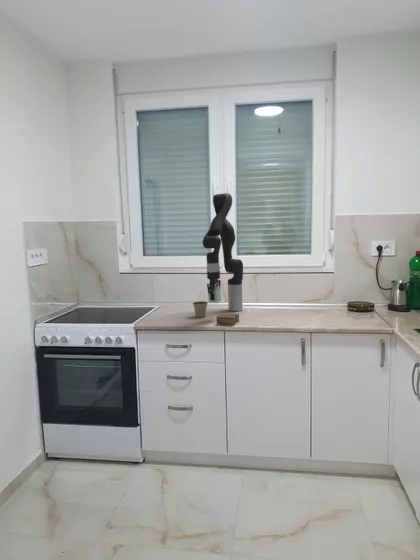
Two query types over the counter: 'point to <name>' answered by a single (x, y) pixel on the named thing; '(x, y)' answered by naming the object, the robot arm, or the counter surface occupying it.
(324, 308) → the counter surface
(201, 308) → the flower pot
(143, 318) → the counter surface
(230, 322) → the walnut box
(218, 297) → the canister
